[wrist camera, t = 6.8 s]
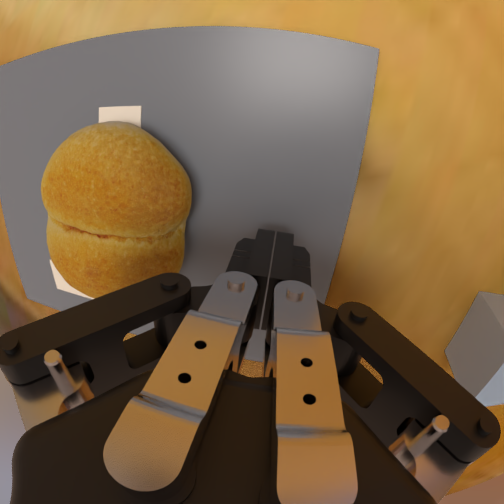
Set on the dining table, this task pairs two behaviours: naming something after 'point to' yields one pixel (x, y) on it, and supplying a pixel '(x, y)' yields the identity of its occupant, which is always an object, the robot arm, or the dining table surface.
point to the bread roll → (114, 208)
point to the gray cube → (480, 350)
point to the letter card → (198, 139)
